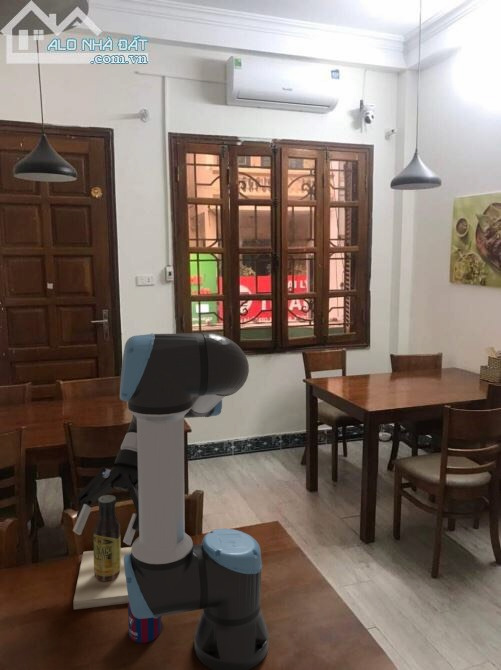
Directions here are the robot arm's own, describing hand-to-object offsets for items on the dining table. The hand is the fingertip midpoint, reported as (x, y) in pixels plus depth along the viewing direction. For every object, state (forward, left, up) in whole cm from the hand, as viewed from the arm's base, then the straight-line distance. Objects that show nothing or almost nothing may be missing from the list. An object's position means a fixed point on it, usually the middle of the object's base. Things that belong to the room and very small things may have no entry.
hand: (101, 538), depth 120 cm
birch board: (+4, -1, -13) cm, 14 cm away
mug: (-15, -11, -13) cm, 23 cm away
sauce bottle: (+2, -1, -11) cm, 12 cm away
